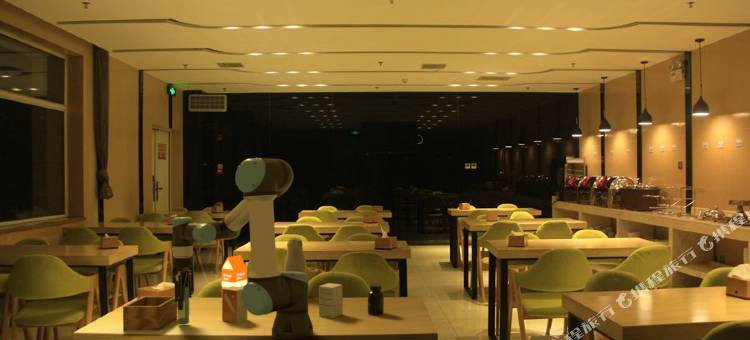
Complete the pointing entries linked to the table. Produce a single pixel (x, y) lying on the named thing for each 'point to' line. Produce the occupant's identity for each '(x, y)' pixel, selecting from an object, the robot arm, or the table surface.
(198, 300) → the table surface
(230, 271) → the orange juice
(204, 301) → the table surface
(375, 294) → the supplement bottle
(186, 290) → the peg
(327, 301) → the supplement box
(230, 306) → the small box
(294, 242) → the beige tapered cylinder
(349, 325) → the table surface
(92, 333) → the table surface
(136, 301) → the crate
